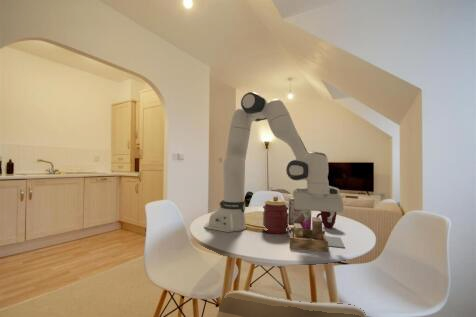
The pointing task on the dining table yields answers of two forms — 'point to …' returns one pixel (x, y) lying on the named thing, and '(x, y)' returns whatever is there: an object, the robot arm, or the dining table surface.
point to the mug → (325, 219)
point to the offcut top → (298, 229)
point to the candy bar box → (298, 216)
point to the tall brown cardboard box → (316, 228)
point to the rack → (308, 241)
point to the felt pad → (335, 242)
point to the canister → (275, 216)
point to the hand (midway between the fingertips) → (317, 221)
